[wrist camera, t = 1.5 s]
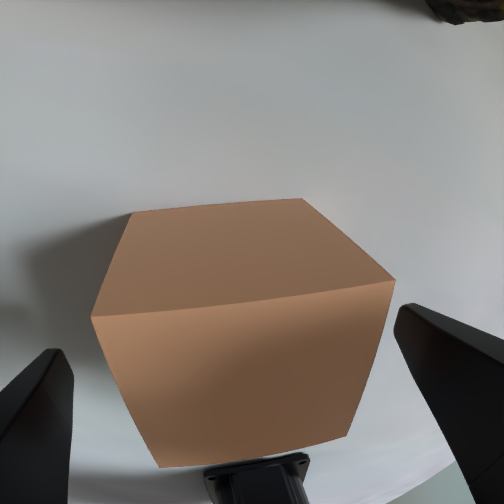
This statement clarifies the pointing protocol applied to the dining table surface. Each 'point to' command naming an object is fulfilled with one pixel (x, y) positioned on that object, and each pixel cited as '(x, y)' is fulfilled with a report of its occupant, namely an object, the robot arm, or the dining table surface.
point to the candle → (468, 10)
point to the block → (239, 328)
